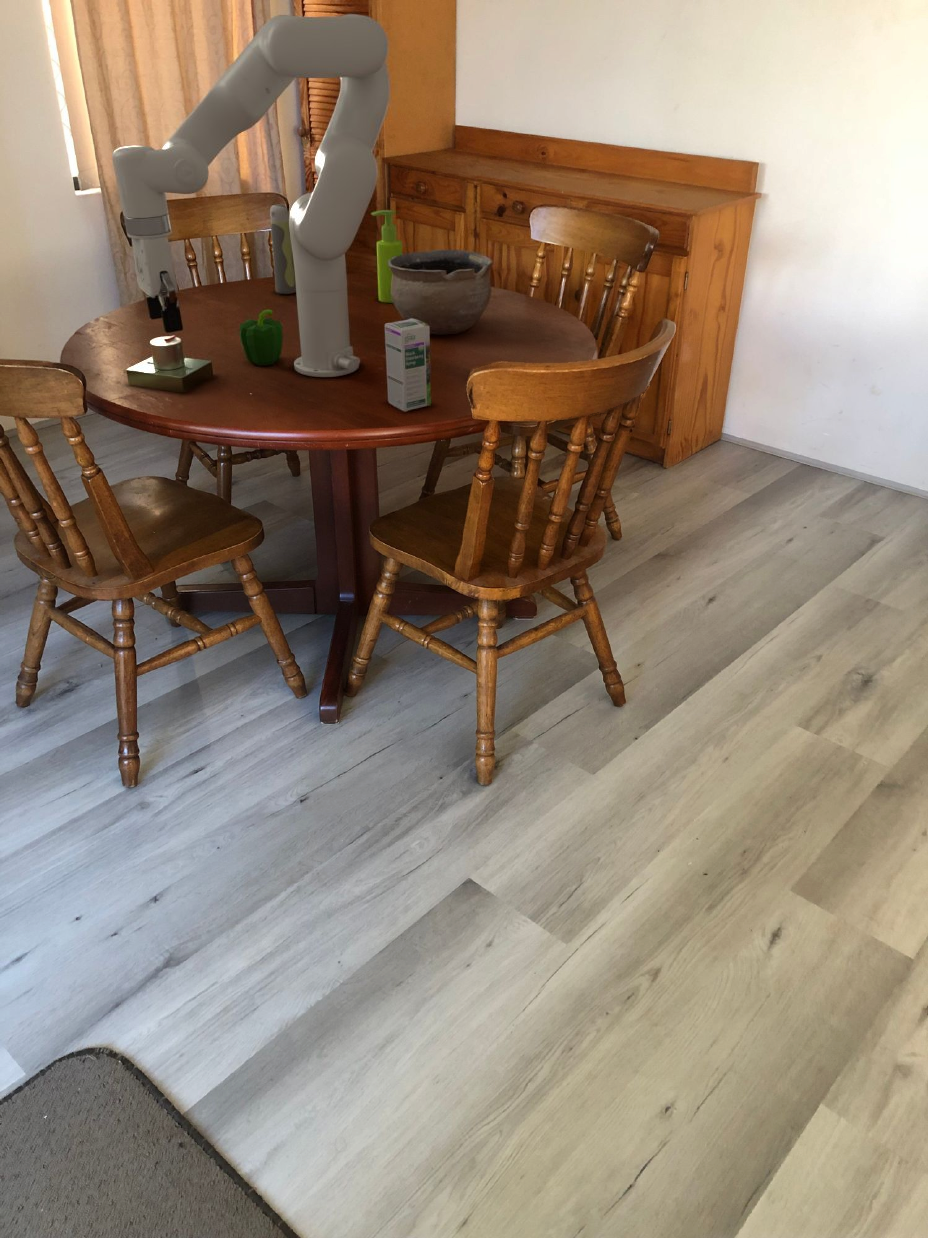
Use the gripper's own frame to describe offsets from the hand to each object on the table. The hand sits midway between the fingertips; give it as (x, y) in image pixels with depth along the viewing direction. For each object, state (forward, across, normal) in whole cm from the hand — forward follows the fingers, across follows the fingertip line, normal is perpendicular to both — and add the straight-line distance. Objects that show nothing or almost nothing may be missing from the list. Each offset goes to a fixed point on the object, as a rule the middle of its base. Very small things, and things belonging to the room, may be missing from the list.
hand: (166, 324), depth 177 cm
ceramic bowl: (+12, -5, +60) cm, 61 cm away
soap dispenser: (+12, -32, +61) cm, 70 cm away
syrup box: (+12, +32, +33) cm, 47 cm away
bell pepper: (+11, -2, +18) cm, 21 cm away
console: (+10, 0, -1) cm, 11 cm away
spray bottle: (+12, -50, +42) cm, 66 cm away
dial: (+7, 0, -1) cm, 7 cm away
